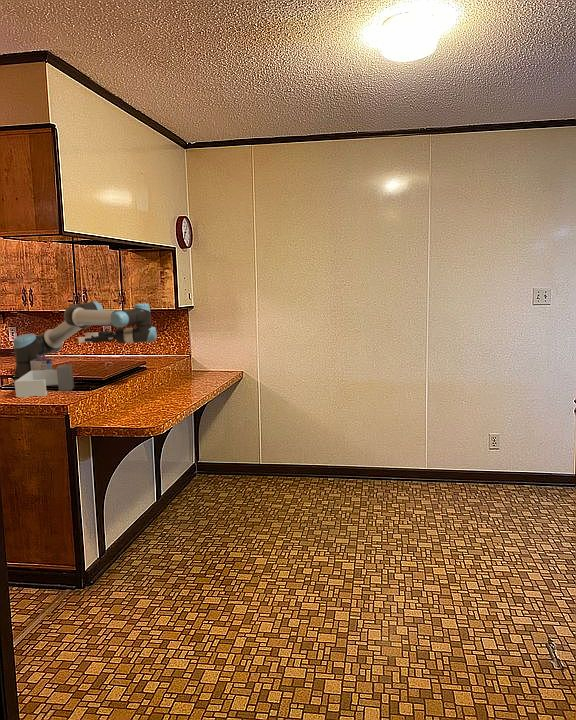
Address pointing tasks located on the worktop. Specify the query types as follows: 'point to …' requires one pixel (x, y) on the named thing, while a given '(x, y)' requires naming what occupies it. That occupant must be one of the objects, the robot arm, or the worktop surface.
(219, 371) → the worktop surface
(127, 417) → the worktop surface
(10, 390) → the worktop surface
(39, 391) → the open side box
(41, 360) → the ink cartridge box
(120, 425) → the worktop surface
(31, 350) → the robot arm
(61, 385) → the dark grey block
